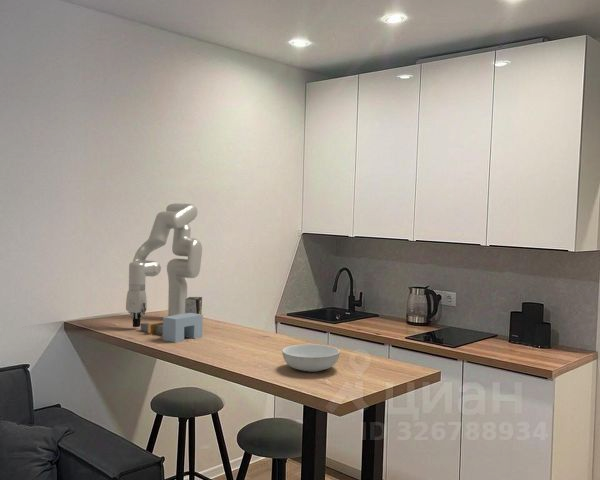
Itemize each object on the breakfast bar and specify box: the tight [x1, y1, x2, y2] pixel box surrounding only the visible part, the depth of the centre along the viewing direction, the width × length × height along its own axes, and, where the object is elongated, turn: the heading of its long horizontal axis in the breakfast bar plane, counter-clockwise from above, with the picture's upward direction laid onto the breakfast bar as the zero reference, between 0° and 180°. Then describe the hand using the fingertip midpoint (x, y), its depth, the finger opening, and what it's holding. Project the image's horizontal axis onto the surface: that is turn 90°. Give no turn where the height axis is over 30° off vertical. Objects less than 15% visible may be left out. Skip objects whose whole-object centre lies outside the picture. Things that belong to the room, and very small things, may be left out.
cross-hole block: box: [162, 313, 204, 344], centre depth 259 cm, size 8×16×10 cm, turn 144°
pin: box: [140, 321, 163, 337], centre depth 268 cm, size 24×8×5 cm, turn 54°
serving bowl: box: [281, 343, 341, 373], centre depth 214 cm, size 21×21×7 cm
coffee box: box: [185, 296, 203, 315], centre depth 273 cm, size 9×6×16 cm
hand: (136, 326), depth 278 cm, fingers closed
